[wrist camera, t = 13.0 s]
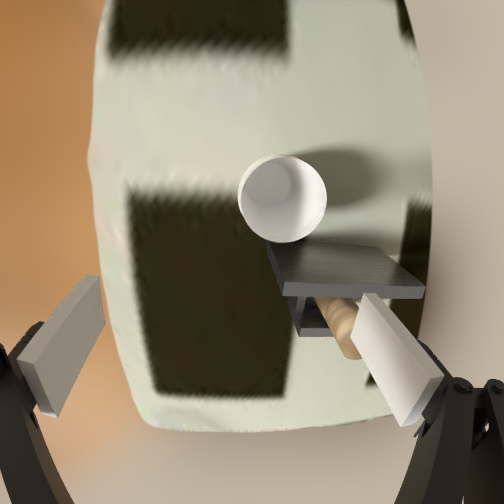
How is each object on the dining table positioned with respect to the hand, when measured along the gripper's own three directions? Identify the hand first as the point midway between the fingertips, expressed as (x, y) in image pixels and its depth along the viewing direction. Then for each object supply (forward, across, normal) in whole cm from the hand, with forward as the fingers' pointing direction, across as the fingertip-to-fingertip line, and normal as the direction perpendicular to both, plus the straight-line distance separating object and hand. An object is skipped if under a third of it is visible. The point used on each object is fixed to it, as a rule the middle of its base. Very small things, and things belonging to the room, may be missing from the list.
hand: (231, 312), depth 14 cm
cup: (+29, +5, +2) cm, 29 cm away
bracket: (+29, +15, -11) cm, 34 cm away
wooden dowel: (+26, +15, -11) cm, 32 cm away
